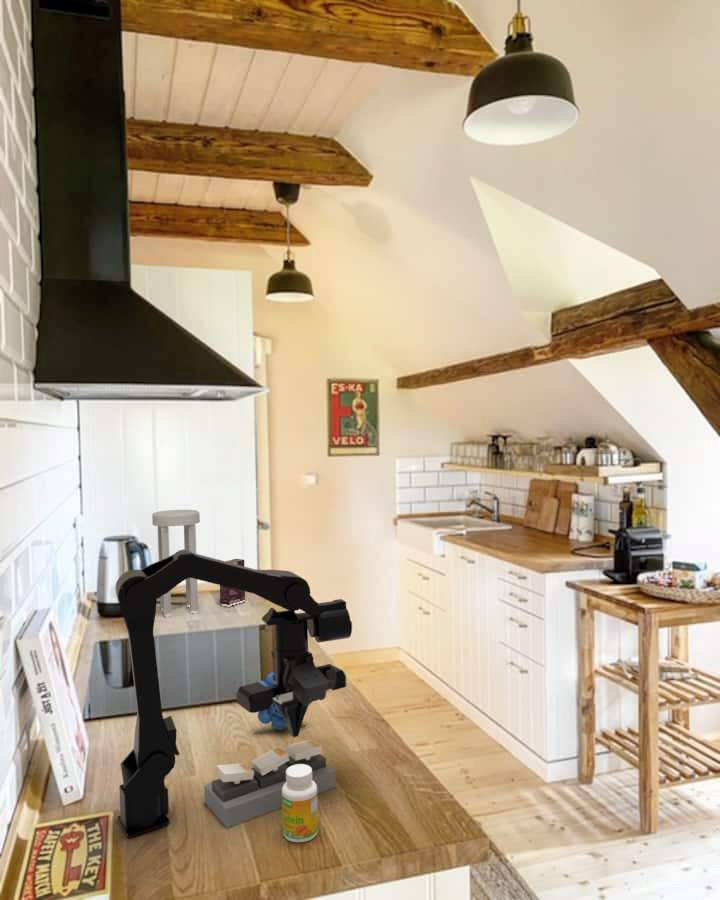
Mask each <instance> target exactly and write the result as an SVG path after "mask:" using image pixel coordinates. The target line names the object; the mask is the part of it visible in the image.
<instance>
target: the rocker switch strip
mask: <svg viewBox="0 0 720 900" xmlns="http://www.w3.org/2000/svg"><path fill="white" fill-rule="evenodd" d="M288 757H289V761H287V762H286V763H284V764H282V765H280V766H279V767H278V770H276V771H275V772H274V771H273V770H272V771H270V772H268V773H267V774H265V775H263V776H262V775H261V774H260V773H258V772H257V771H256V770H255V769H254V768H253V767H250V768H251V769H252V770H253V771H254V776H253V779H249V780H240V783H239V784H235V783H234V782H233V781H230V782H223V781H222V780H221V779H220V778H217V779H215V780H211V782H210V783H207V784H204V785H203V787H204V788H203V790H204V792H203V793H204V794H203V795H204V804H205V805H206V806H207V807H208V809H210V812H212V813H213V814H214V815H215V817H216V818H217V819H218V820H219V821H220V822H221V823H222V825H223V826H224V827H225V828H226V829H228V828H232V827H234V826H237V825H240V824H242V823H244V822H247V821H250V820H252V819H255V818H258V817H260V816H263V815H266V814H268V813H271V812H274V811H276V810H279V809H282V788H283V785H284V784H285V783H286V782H287V781H286V770H287V768H289V767H290V766H292V765H296V764H305V765H308V766H310V767H311V768H312V780H313V781H314V782H315V783H316V786H317V795H319V793H320V794H322V793H325V792H328V791H330V790H333V789H335V788H337V787H336V769H334V768H332V767H331V766H330V765H329V764H327V758H326V757H325V756H323V755H322V754H318V755H315V756H311V757H310V760H305V759H300V760H296V761H295V760H294V759H293V758H292V757H290V756H289V755H288ZM321 792H322V793H321Z"/></svg>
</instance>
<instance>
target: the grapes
mask: <svg viewBox="0 0 720 900" xmlns="http://www.w3.org/2000/svg"><path fill="white" fill-rule="evenodd" d="M272 674H276V672H270V673H268V674H267V675H266V680H265V681H264V680H259V681H257V682H259V683H261V684H262V685H264V686H265V687H269V686H273V685H276V682H275V681H273V676H272ZM307 711H308V709H307V710H306V712H307ZM257 713H258V714H257V719H258V721H259V722H260V723H262V724H265V725H268V724H271V726H272V727H273V729H275V731H276V730H277V731H282V730H284V729H285V728H286V726H287V725H286V723H285V721H284V718H283V716H282V714H281V712H280V710H279V709H278V707H277V706H276V705H275V704H273V703H272V705H271V706H270V708H269V709H266V710H263V711H259V712H257Z"/></svg>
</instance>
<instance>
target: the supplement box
mask: <svg viewBox="0 0 720 900" xmlns="http://www.w3.org/2000/svg"><path fill="white" fill-rule="evenodd" d="M224 561H225V562H229V563H233V564H237V565H240V566H244V567H245V559H241V558H233V559H229V560H224ZM243 600H245V601H246V592H245V591H241V590H237V589H233V588H229V587H225V586H222V585H219V605H220V604H227V605H230V604H233V603H237V602H240V601H243Z"/></svg>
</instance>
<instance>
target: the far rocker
mask: <svg viewBox="0 0 720 900" xmlns="http://www.w3.org/2000/svg"><path fill="white" fill-rule="evenodd" d="M285 752H286V753H287V754H288V756H290V757H292V758H293V759H294V760H295V761H296V760H300V759H305V760H310V757H311V756H315V755H318V754H321V755H322V754H323V746H322V745H321V744H319V743H317V741H315V740H314V739H308V740H307V739H306V740H303V741H299V742H297V743H292V744H287V745H285Z"/></svg>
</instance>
